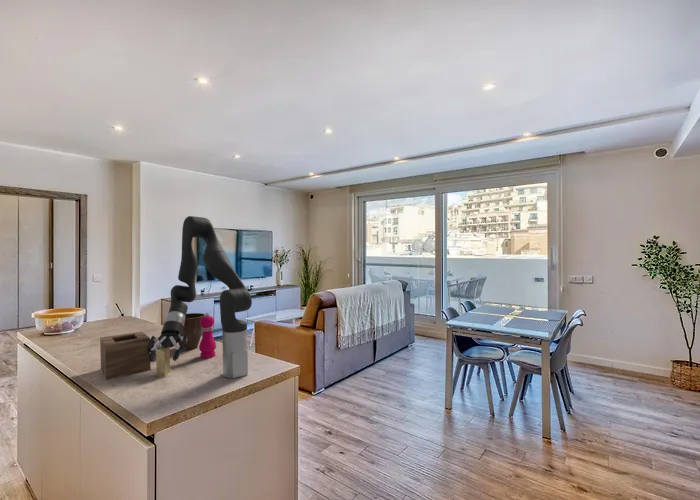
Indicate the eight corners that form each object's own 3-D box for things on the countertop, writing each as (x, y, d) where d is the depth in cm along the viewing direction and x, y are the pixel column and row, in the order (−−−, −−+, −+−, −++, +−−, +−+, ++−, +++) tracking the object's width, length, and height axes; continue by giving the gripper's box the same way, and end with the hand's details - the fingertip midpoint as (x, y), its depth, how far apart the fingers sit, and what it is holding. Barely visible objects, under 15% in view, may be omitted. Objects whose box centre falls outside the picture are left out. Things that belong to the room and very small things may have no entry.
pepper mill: (210, 359, 154) (209, 314, 154) (195, 358, 156) (195, 313, 156) (219, 354, 161) (218, 311, 161) (205, 353, 163) (204, 310, 163)
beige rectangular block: (164, 376, 134) (164, 350, 134) (156, 377, 134) (156, 351, 134) (170, 372, 139) (169, 347, 139) (162, 372, 139) (161, 347, 139)
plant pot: (174, 345, 176) (173, 314, 176) (206, 342, 182) (205, 312, 182) (170, 354, 162) (169, 320, 162) (204, 350, 168) (204, 317, 168)
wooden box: (150, 369, 142) (150, 338, 142) (105, 379, 132) (105, 345, 132) (142, 360, 153) (141, 331, 153) (100, 369, 143) (100, 337, 143)
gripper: (153, 320, 144) (140, 356, 133) (189, 319, 145) (179, 355, 134) (158, 330, 149) (146, 365, 138) (193, 328, 151) (184, 364, 140)
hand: (163, 360), depth 136 cm, fingers open, 8 cm apart
